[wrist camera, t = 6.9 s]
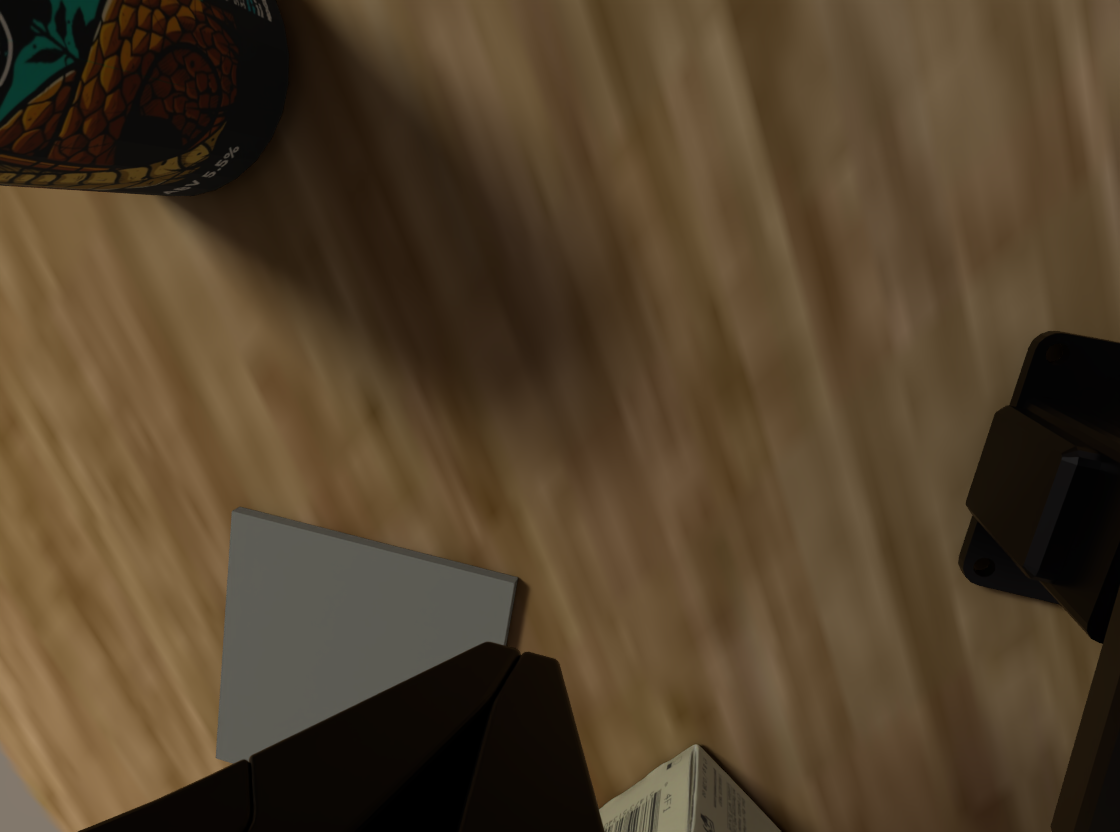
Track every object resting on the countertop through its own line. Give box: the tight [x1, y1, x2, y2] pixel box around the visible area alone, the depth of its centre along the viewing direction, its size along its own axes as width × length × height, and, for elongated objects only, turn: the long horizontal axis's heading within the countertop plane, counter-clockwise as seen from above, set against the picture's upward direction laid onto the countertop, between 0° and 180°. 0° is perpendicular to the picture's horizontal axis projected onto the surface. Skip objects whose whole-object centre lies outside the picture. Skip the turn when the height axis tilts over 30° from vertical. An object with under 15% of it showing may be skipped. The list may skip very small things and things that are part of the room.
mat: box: [216, 507, 518, 764], centre depth 25 cm, size 9×9×1 cm
